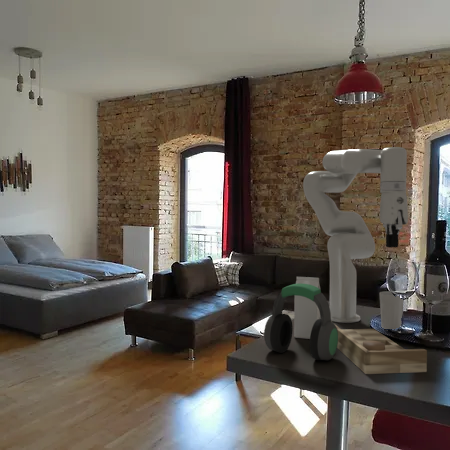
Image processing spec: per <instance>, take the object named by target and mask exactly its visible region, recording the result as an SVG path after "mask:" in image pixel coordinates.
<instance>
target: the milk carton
mask: <svg viewBox="0 0 450 450" xmlns="http://www.w3.org/2000/svg"><path fill="white" fill-rule="evenodd" d="M299 283H302V284H309V285H313V286H315V287H317V288H319V289H320V290H321V286H320V278H319V277H309V276H307V277H306V276H296V281H295V284H299ZM293 304H294V308H293V309H294V313H293V318H294V319H293V322H294V323H293V324H294V325H293V326H294V327H293V331H294V332H293V333H294V334H293V336H294V338H297V339H306V340H308V339H309V340H310V335H311V330H312V327H313V325H314V323H315V321H316V320H318V319H321V316H320V312H319V309H318V307H317V305H316V303H315V302H314V301H312V300H310V299H308V298H306V297H303V296H297V295H294V303H293Z"/></svg>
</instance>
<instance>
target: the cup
mask: <svg viewBox="0 0 450 450" xmlns="http://www.w3.org/2000/svg"><path fill="white" fill-rule="evenodd" d="M391 292H392V291H391V290H390V291H380V292H379V295H378V296H379V306H380V323H381V324H380V326H381V327H382V328H384V329H396V328H399V327H400V326H401V327H402V321H401V318H402V319H403V311H404V310H403V308H404V300H405V299H404V300H403V299H401V298H400V297H399V296H396V297H395V296H394V295H393V294H392V293H391ZM381 327H380V328H381ZM382 328H381V329H382ZM384 329H383V330H384Z"/></svg>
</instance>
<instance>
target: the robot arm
mask: <svg viewBox="0 0 450 450" xmlns="http://www.w3.org/2000/svg"><path fill="white" fill-rule="evenodd" d="M407 156H408V152H407V150H406V148H404V147H401V146H400V147H399V146H395V147H394V146H392V147H391V146H390V147H385V148H383V149H373V148H372V149H370V148H357V149H338V150H331V151H329V152H327V153H326V154H325V155H324V156H323V158H322V167H323V168H324V169H325V170H318V171H317V170H315V171H311V172H308V173H307V174H306V175H305V176H304V179H303V184H302V185H303V193H304V195H305V199H306V201H307V202H308V203H309V205H310V206H311V208H312V209H313V211H314V213H315V216H316V217H317V219H318V222H319V224H320V226H321V228H322V231H324V234H325V235H327V236H328V237H329V239H328V240H327V243H326V244H327V245H326V246H327V253H328V259H329V260H328V261H329V308H330V313H331V322H333V323H334V322H335V323H343V324H350V323H357V322H359V321H361V315H359V314H357V269H356V267H355V264H354V263H353V262H352V260H359V259H361V260H362V259H369V258H371V257H372V256H373V255H374V253H376V252H375V251H376V243H375V239H374V237H373V235H372V234H371V232H370V230H369V228H368V226H367V224H366V222H365V220H364V219H363V217H362V215H360V214H359V213H358V212H355V211H343V210H340V209H339V208H338V206H337V204H336V203H335V201H334V199H332V198H331V197H330V196H329V195H327V194H326V193H329V194H330V193H331V194H333V193H337V194H338V193H342V192H345V191H346V190H347V189H348V188H349V187H350V185H351V183H352V182H353V180H355V178H356V176H357V175H358V174H360V173H361V174H380V180H379V181H380V182H379V183H380V184H379V185H380V186H379V188H380V190H379V193H380V194H381V196H380V204H379V205H380V206H379V222H380V223H381V224H382V228H384V230H385V247H387V248H398V247H399V235H400V230H401V229H403V225H404V226H405V225H407V224H408V222H409V209H408V196H407V168H408V167H407V166H408V165H407V164H408V163H407V161H408V160H407V159H408V157H407Z"/></svg>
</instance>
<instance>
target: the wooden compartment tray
mask: <svg viewBox="0 0 450 450" xmlns="http://www.w3.org/2000/svg"><path fill="white" fill-rule="evenodd" d="M336 327H337V330H338V345H337V350H339V351H340V352H341V353H342V354H343V355H344V356H345V357H346V358H348V359H349V361H351V362H352V363H353V364H354V366H355V365H356V367H357V368H358V369H359V370H361V371H362V373H364V374H365V375H375V374H376V375H377V374H400V373H402V374H403V373H405V374H407V373H427V370H428V369H427V365H428V350H427V349H425V348H414V349H413V348H412V349H410V348H409V349H405V348H404V347H402V346H401V345H400V344H397V343H396V342H394V341H393V340H391V339H390V338H388V337H387V336H385V335H384V334H382V333H381V332H379V331H378V330H376V329H375V328H354V329H353V328H351V329H348V328H347V329H346V328H345V329H341V328H340V327H339V326H338V325H336ZM364 341H379V342H382V343H384V344H385V350H374V351H368V350H367V349H366V348H364V347H363V342H364Z"/></svg>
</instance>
